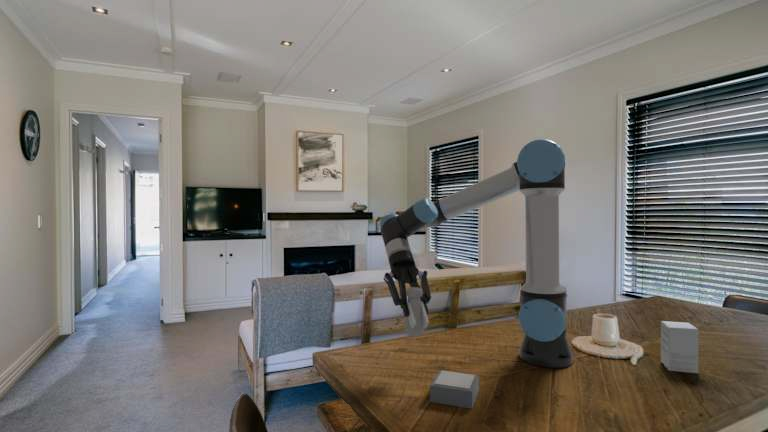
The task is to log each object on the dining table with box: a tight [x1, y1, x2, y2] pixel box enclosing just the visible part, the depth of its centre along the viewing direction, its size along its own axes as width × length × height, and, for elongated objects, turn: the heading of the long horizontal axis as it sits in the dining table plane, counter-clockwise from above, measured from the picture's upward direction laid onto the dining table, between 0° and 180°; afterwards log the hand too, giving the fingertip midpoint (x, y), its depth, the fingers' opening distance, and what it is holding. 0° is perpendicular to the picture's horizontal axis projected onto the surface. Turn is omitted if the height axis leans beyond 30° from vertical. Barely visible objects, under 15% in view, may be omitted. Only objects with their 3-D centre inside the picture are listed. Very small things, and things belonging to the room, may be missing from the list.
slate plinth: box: [429, 369, 480, 410], centre depth 102 cm, size 10×10×4 cm
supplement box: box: [660, 320, 700, 374], centre depth 120 cm, size 7×7×13 cm
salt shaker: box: [403, 287, 426, 338], centre depth 115 cm, size 6×6×13 cm
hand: (420, 325), depth 111 cm, fingers closed on salt shaker, 3 cm apart
